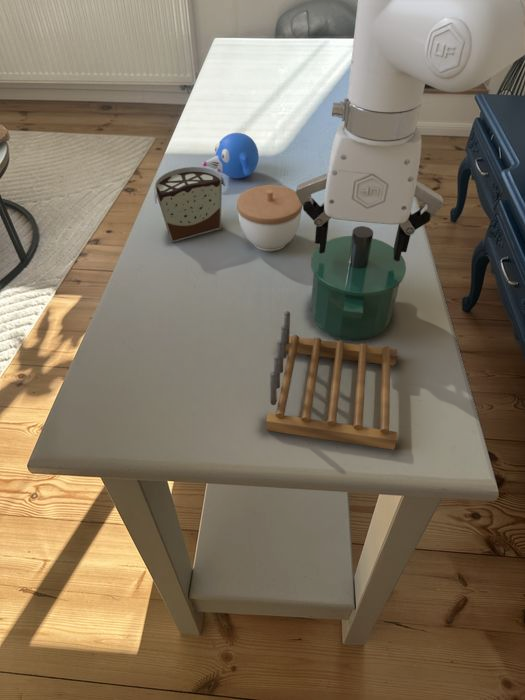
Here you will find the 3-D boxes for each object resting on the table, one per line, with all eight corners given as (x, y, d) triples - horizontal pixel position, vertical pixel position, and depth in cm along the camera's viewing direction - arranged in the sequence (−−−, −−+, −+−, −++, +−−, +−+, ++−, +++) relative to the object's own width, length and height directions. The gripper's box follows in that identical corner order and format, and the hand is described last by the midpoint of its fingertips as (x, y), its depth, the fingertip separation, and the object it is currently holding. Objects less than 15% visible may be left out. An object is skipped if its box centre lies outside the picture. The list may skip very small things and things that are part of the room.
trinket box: (247, 264, 80) (245, 214, 73) (233, 229, 87) (229, 180, 80) (309, 253, 82) (312, 203, 75) (289, 219, 89) (291, 171, 82)
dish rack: (394, 359, 65) (407, 314, 59) (394, 449, 56) (409, 407, 49) (284, 345, 67) (286, 300, 61) (266, 430, 58) (265, 387, 52)
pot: (390, 280, 76) (401, 234, 70) (389, 359, 65) (401, 313, 59) (317, 272, 78) (321, 227, 72) (304, 348, 67) (307, 302, 60)
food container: (215, 210, 91) (210, 159, 84) (228, 226, 88) (224, 174, 80) (153, 227, 88) (142, 175, 80) (163, 244, 84) (153, 192, 77)
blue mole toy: (193, 172, 102) (188, 131, 96) (244, 159, 105) (242, 119, 99) (216, 198, 94) (212, 156, 88) (269, 183, 98) (269, 142, 92)
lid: (403, 247, 69) (412, 209, 65) (404, 305, 61) (414, 266, 56) (316, 238, 71) (319, 202, 66) (305, 294, 62) (307, 256, 58)
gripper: (295, 126, 50) (290, 261, 62) (469, 138, 47) (427, 275, 60) (304, 99, 55) (298, 229, 67) (462, 108, 52) (425, 241, 65)
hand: (359, 251), depth 64 cm, fingers open, 9 cm apart
